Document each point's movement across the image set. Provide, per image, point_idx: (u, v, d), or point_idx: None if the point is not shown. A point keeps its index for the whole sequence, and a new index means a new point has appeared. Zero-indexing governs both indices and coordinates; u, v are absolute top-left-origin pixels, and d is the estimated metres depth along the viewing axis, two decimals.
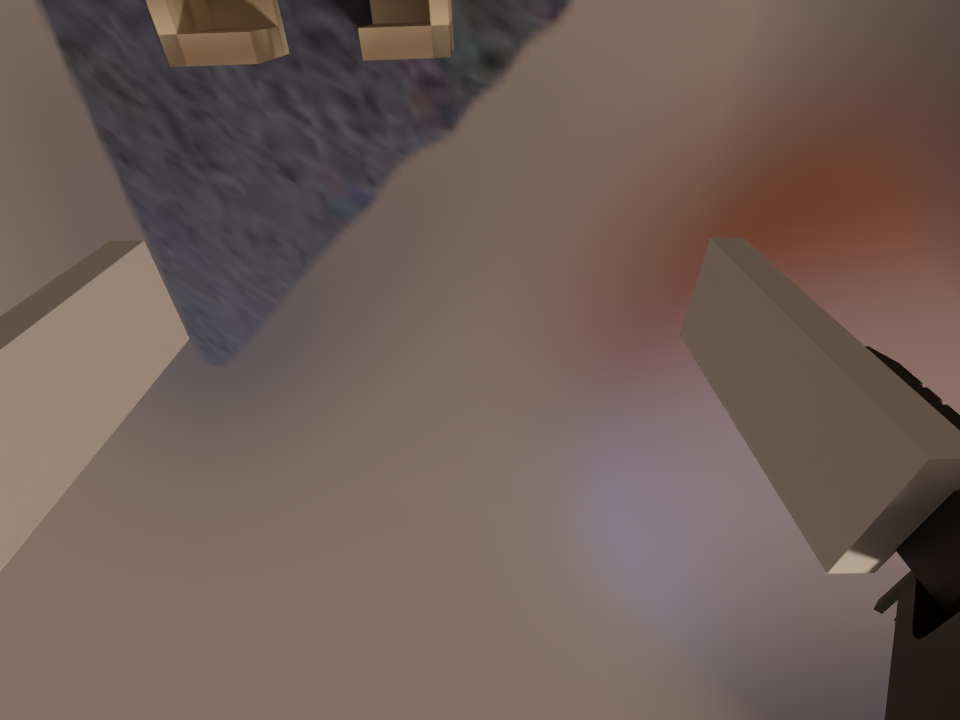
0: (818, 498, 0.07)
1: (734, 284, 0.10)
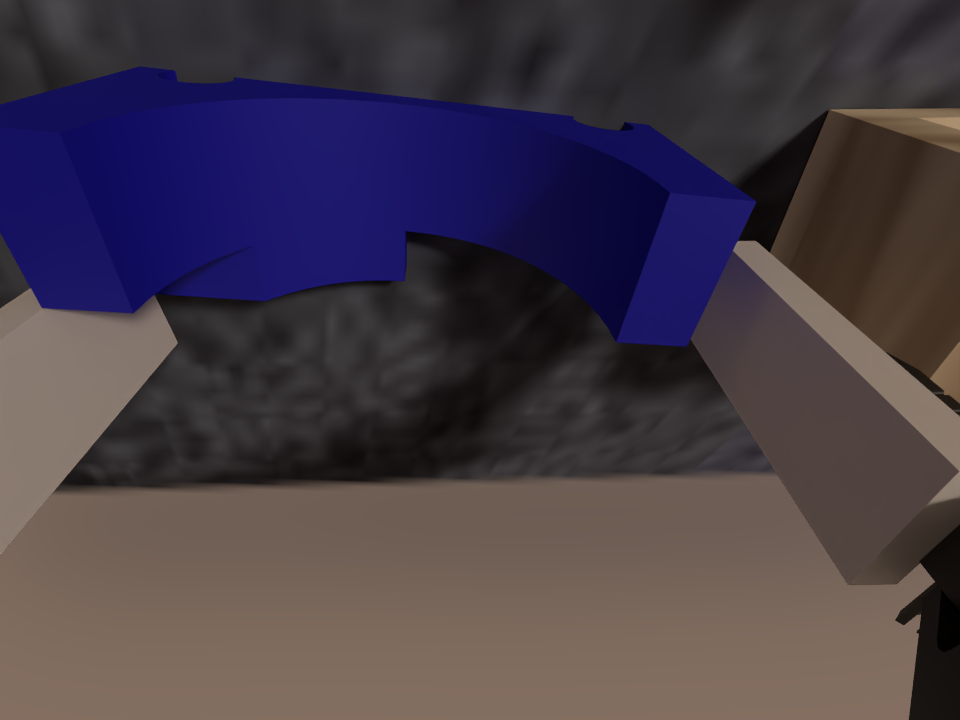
0: (839, 508, 0.07)
1: (748, 288, 0.10)
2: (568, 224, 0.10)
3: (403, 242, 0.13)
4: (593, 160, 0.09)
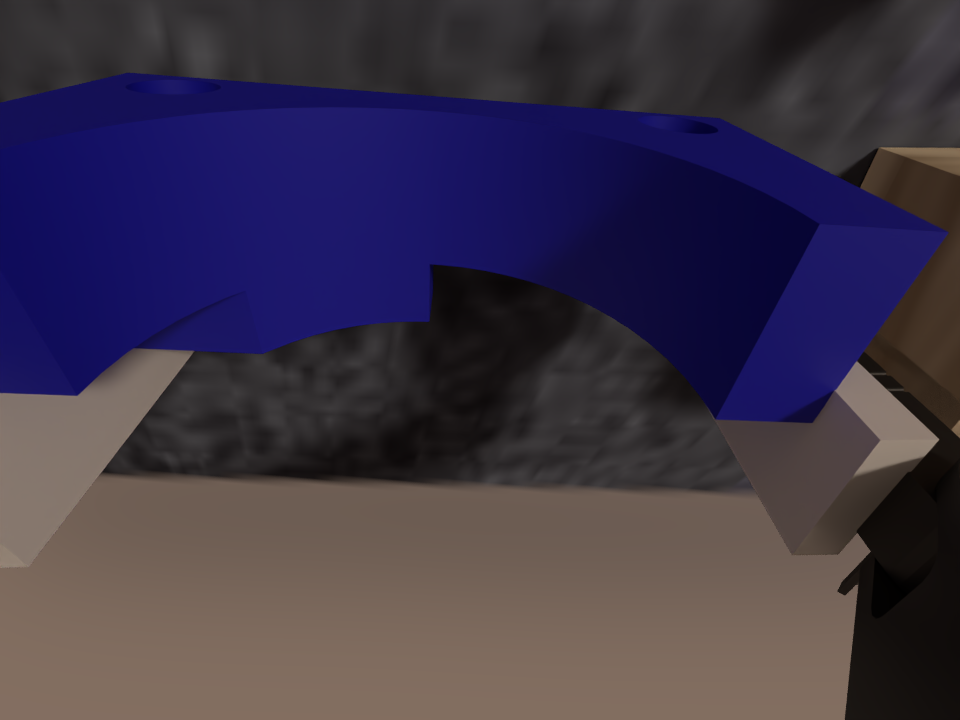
0: (784, 482, 0.08)
1: None
2: (640, 256, 0.08)
3: (427, 277, 0.10)
4: (680, 175, 0.07)
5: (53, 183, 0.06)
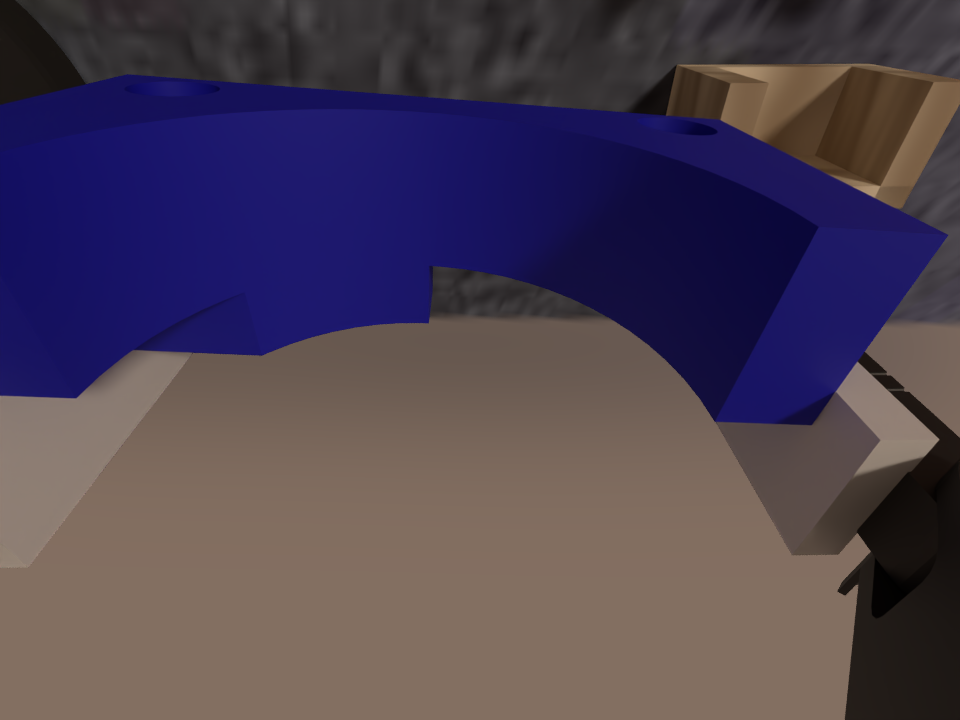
0: (784, 482, 0.08)
1: None
2: (639, 259, 0.08)
3: (427, 279, 0.10)
4: (679, 177, 0.07)
5: (52, 186, 0.06)
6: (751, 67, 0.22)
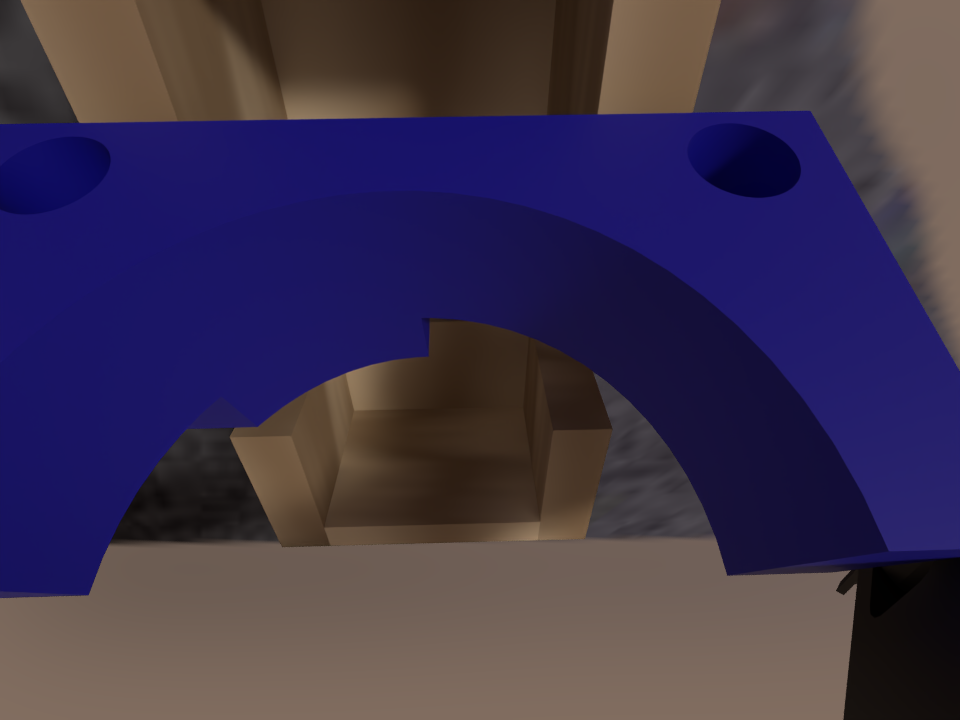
0: None
1: None
2: (667, 376, 0.07)
3: (420, 327, 0.09)
4: (728, 336, 0.05)
5: None
6: None
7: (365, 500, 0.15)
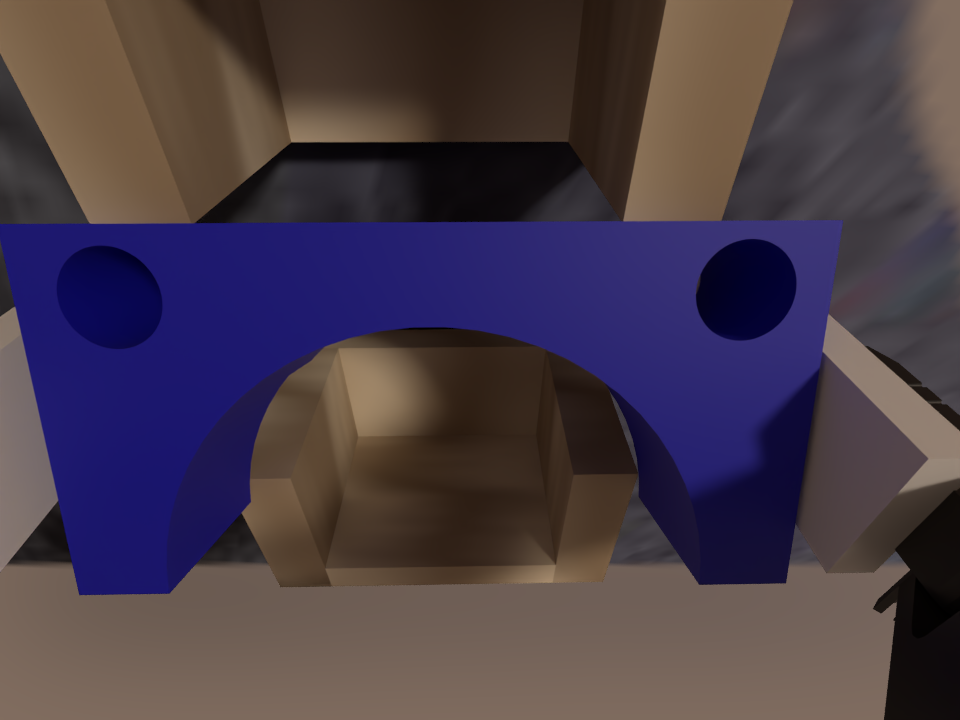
0: (817, 498, 0.07)
1: None
2: (631, 413, 0.09)
3: None
4: (668, 454, 0.08)
5: (185, 519, 0.08)
6: (394, 347, 0.15)
7: (369, 538, 0.14)
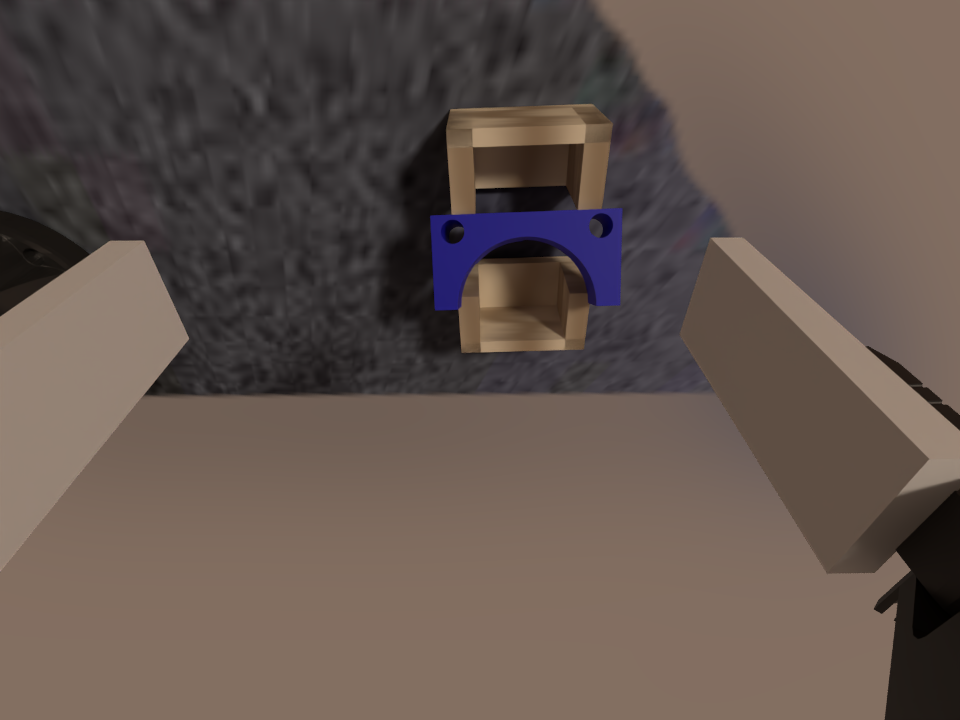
0: (818, 498, 0.07)
1: (733, 284, 0.10)
2: (580, 266, 0.32)
3: (522, 240, 0.33)
4: (586, 269, 0.30)
5: (459, 292, 0.31)
6: (500, 263, 0.38)
7: (494, 334, 0.37)
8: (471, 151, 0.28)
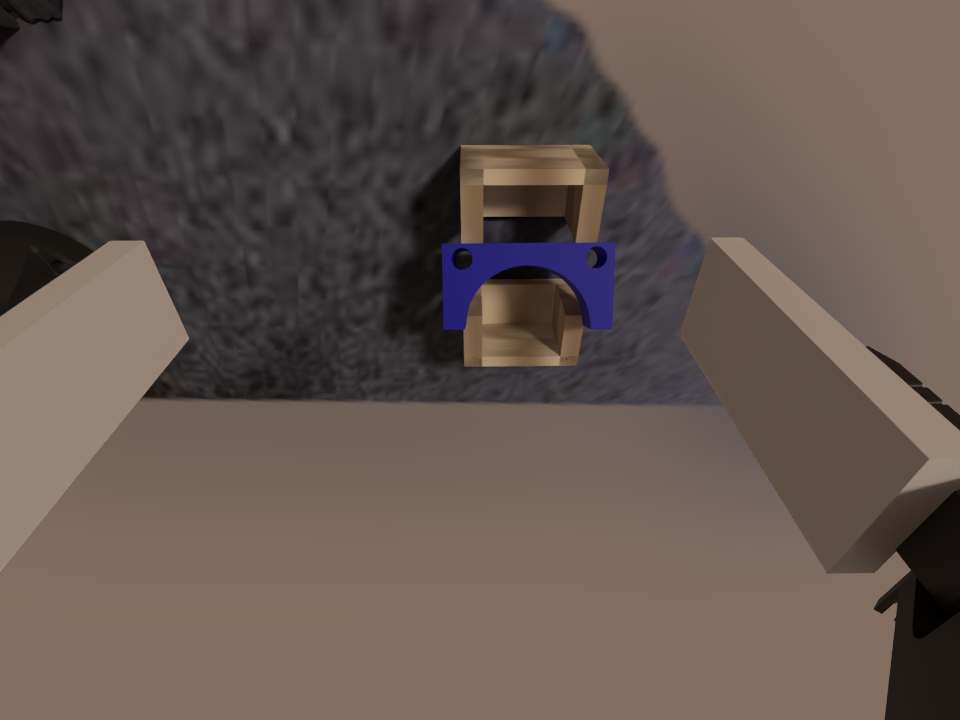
0: (818, 498, 0.07)
1: (734, 284, 0.10)
2: (576, 292, 0.35)
3: None
4: (582, 296, 0.33)
5: (466, 313, 0.34)
6: (501, 284, 0.41)
7: (494, 350, 0.40)
8: (482, 188, 0.31)
